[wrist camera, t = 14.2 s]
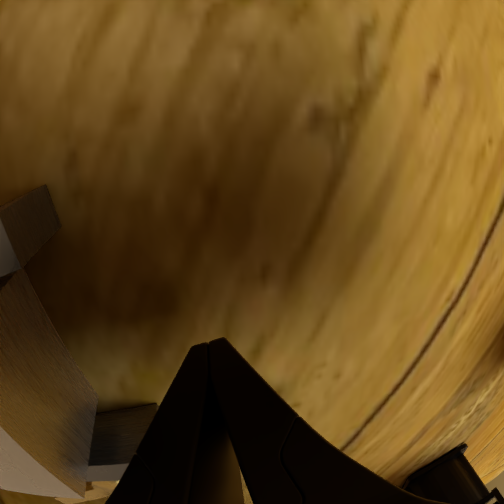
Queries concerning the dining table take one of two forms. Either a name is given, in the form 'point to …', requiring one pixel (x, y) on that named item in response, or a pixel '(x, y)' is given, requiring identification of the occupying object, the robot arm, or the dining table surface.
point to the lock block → (40, 400)
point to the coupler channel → (14, 258)
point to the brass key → (92, 491)
